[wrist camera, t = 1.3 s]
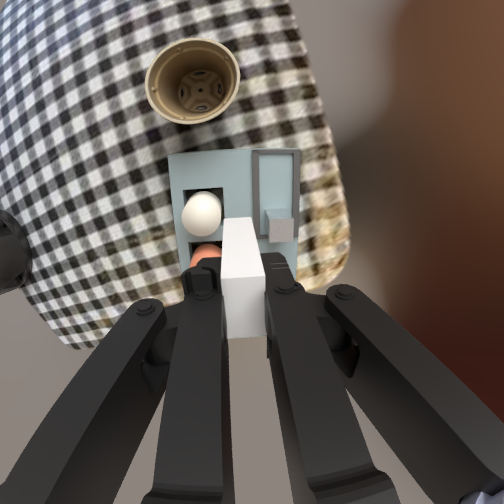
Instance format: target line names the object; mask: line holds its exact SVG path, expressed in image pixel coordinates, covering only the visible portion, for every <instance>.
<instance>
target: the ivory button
mask: <svg viewBox="0 0 504 504" xmlns="http://www.w3.org/2000/svg"><path fill="white" fill-rule="evenodd" d="M221 211H222V206H221V202H220V200H219V198H218V197H217V196H216V195H215V194H213V193H211V192H208V191H200V192H197V193H195V194H193V195H192V196H191V197H190V199H189V200H188V202H187V204H186V206H185V207H184V209H183V212H182V223H183V226H184V227H185V229H186V230H187V231H188V232H189V233H191V234H193V235H195V236H208V235H210V234H212V233H214V232H215V231H216V230H217V228H218V227H219V225H220V221H221Z"/></svg>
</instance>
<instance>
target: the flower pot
mask: <svg viewBox="0 0 504 504" xmlns="http://www.w3.org/2000/svg"><path fill="white" fill-rule="evenodd" d="M200 71H202V72H204V74H198V75H194V73H196V72H200ZM219 84H220V86H221V90H222V93H220V94H219V93H218V85H219ZM239 84H240V71H239V66H238V63H237V61H236V59H235V57H234V56H233V54H232V53H231V52H230V51H229V50H228V49H227V48H226V47H225V46H223V45H222V44H220V43H218V42H216V41H214V40H210V39H205V38H190V39H184V40H181V41H178V42H175V43H173V44H171V45H170V46H168V47H166V48H165V49H164V50H162V51H161V52H160V53H159V54H158V55H157V56H156V57H155V58H154V60H153V61H152V63H151V64H150V66H149V68H148V70H147V74H146V78H145V91H146V96H147V99H148V101H149V103H150V105H151V106H152V108H153V109H154V110H155V111H156V112H157V113H158V114H159V115H160V116H162V117H163V118H165V119H167V120H169V121H172V122H175V123H179V124H197V123H202V122H205V121H208V120H210V119H212V118H214V117H216V116H218V115H219V114H221V113H222V112H223V111H224V110H225V109H226V108H227V107H228V106H229V105H230V104H231V103H232V101H233V100H234V98H235V96H236V94H237V92H238V88H239ZM182 89H183V92H184V94H183V97H181V90H182ZM199 89H202V91H201V92H199ZM198 106H206V109H205V110H198V109H197V107H198Z"/></svg>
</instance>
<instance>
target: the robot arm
mask: <svg viewBox="0 0 504 504" xmlns="http://www.w3.org/2000/svg"><path fill="white" fill-rule="evenodd" d="M31 269H32V255H31V250H30V246H29V243H28V240H27V238H26V235H25V233H24V231H23V229H22V228H21V226H20V225H19V223H18V222H17V221H16V219H15V218H14V217H13V216H11V215H10V214H9V213H7V212H5V211H2V210H0V295H1V294H4V293H6V292H9V291H11V290H14V289H17V288H19V287H20V286H21V285H22V284H23V283H24V282H25V281H26V280H27V279H28V278H29V276H30V273H31ZM181 279H182V284H183V290H184V295H185V296H184V301H182V302H180V303H178V304H175V305H172V306H168V307H164V306H163V303H162V302H161V301H160V300H157V299H154V298H147V299H142V300H139V301H137V302H135V303H133V304H132V305H131V306H130V307H129V308H128V309H127V310H126V312H125V313H124V314H123V315H122V316H121V318H120V319H119V320H118V321H117V322H116V324H115V325H114V326H113V327H112V329H111V330H110V331H109V332H108V334H107V335H106V336H105V337H104V339H103V340H102V341H101V342H100V344H99V345H98V346H97V347H96V349H95V350H94V351H93V352H92V354H91V355H90V356H89V358H88V359H87V360H86V361H85V363H84V364H83V365H82V367H81V368H80V369H79V371H78V372H77V373H76V375H75V376H74V377H73V379H72V380H71V381H70V383H69V384H68V386H67V387H66V388H65V390H64V391H63V393H62V394H61V395H60V397H59V398H58V400H57V401H56V402H55V404H54V405H53V406H52V408H51V409H50V411H49V412H48V414H47V415H46V417H45V418H44V420H43V421H42V423H41V424H40V426H39V427H38V429H37V430H36V432H35V433H34V435H33V436H32V438H31V439H30V441H29V443H28V444H27V446H26V447H25V449H24V450H23V452H22V454H21V455H20V457H19V459H18V461H17V462H16V464H15V465H14V467H13V469H12V471H11V472H10V474H9V476H8V477H7V479H6V481H5V482H4V483H3V484H1V485H0V504H113V502H114V499H115V497H116V495H117V493H118V491H119V488H120V486H121V484H122V481H123V480H124V477H125V475H126V473H127V471H128V469H129V466H130V464H131V462H132V460H133V458H134V456H135V453H136V451H137V449H138V447H139V445H140V442H141V440H142V438H143V436H144V434H145V432H146V430H147V428H148V426H149V424H150V421H151V419H152V417H153V415H154V413H155V411H156V409H157V407H158V405H159V403H160V400H161V398H162V396H163V394H164V392H165V390H166V392H165V398H164V405H163V411H162V418H161V424H160V431H159V438H158V446H157V454H156V462H155V471H154V480H153V486H152V489H151V491H150V492H149V493H147V494H146V495H145V496H144V498H143V500H142V502H141V504H235V492H234V476H233V459H232V439H231V419H230V418H231V416H230V388H229V352H228V351H229V350H228V340H227V339H229V338H245V337H258V336H266V333H267V358H269V360H270V366H271V372H272V378H273V384H274V389H275V395H276V402H277V407H278V413H279V419H280V425H281V431H282V437H283V443H284V449H285V455H286V461H287V467H288V473H289V478H290V484H291V490H292V496H293V502H294V504H401V503H400V500H399V498H398V495H397V492H396V489H395V486H394V484H393V482H392V480H391V478H390V477H389V476H388V475H387V474H386V473H385V472H382V471H379V470H377V468H375V466H374V464H373V462H372V459H371V456H370V453H369V451H368V448H367V445H366V442H365V439H364V437H363V434H362V431H361V429H360V426H359V423H358V420H357V418H356V415H355V413H354V410H353V407H352V405H351V402H350V399H349V397H348V394H347V391H346V389H347V390H348V392H349V393H350V394H351V396H352V397H353V398H354V400H355V401H356V402H357V404H358V405H359V406H360V408H361V409H362V410H363V412H364V413H365V414H366V416H367V417H368V418H369V420H370V421H371V422H372V424H373V425H374V426H375V428H376V429H377V430H378V432H379V433H380V434H381V436H382V437H383V438H384V440H385V441H386V442H387V444H388V445H389V446H390V448H391V449H392V450H393V452H394V453H395V454H396V456H397V457H398V458H399V460H400V461H401V462H402V463H403V465H404V466H405V467H406V469H407V470H408V471H409V473H410V474H411V475H412V477H413V478H414V479H415V480H416V482H417V483H418V484H419V486H420V487H421V488H422V490H423V491H424V492H425V494H426V495H427V496H428V497H429V498H430V499H431V500H432V501H433V503H434V504H504V424H503V423H502V422H501V421H500V420H499V419H498V418H497V417H496V416H495V415H494V414H493V413H492V412H491V411H490V409H488V407H487V406H486V405H485V404H484V403H483V402H482V401H481V400H480V399H478V397H477V396H476V395H475V394H474V393H473V392H472V391H471V390H469V388H468V387H466V385H465V384H463V383H462V382H461V381H460V380H459V379H458V378H457V377H456V376H455V375H454V374H453V373H452V372H451V371H450V370H449V369H448V368H447V367H446V366H445V365H443V364H442V363H441V362H440V361H439V360H438V359H437V358H436V357H435V356H434V355H433V354H432V353H431V352H430V351H428V350H427V349H426V348H425V347H424V346H423V345H422V344H421V343H420V342H419V341H417V340H416V339H415V338H414V337H413V336H412V335H411V334H410V333H409V332H407V331H406V330H405V329H404V328H403V327H402V326H401V325H400V324H398V323H397V322H396V321H395V320H394V319H393V318H392V317H391V316H389V315H388V314H387V313H386V312H385V311H383V310H382V309H381V308H380V307H379V306H378V305H377V304H376V303H374V302H373V301H372V300H371V299H370V298H369V297H367V296H366V295H365V294H364V293H363V292H361V291H360V290H359V289H357V288H356V287H354V286H350V285H347V284H339V285H334V286H331V287H329V289H328V290H327V292H326V295H316V294H311V293H307V292H305V290H304V287H303V286H302V285H301V284H300V283H298V282H296V281H295V280H294V277H293V275H292V272H291V270H290V268H289V265H288V263H287V260H286V258H285V256H283V255H282V254H281V253H279V252H270V253H260V252H259V247H258V243H257V239H256V235H255V231H254V227H253V223H252V219H251V217H241V218H226V219H224V225H223V242H222V256H221V257H206V258H202V259H201V260H199V261H198V262H197V264H196V266H193V267H191V268H188V269H186V270H185V271H183V273H182V274H181ZM345 388H346V389H345Z"/></svg>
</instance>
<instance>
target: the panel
mask: <svg viewBox="0 0 504 504" xmlns="http://www.w3.org/2000/svg"><path fill="white" fill-rule="evenodd" d="M168 164H169V176H170V187H171V197H172V206H173V215H174V223H175V231H176V239H177V246H178V253H179V260H180V267H181V273H183V271H185V270H186V269H188V268H189V267H190V263H191V259H192V256H193V253H192V244H191V242H205V241H222V240H223V225H224V220H221V221H220V225H219V227H218V228H217V230H216V231H215V232H214V233H212V234H210V235H208V236H195V235H193V234H191V233H189V232H188V231H187V230H186V229H185V227H184V226H183V223H182V212H183V209H184V207H185V206H186V204H187V196H186V190H189V189H203V188H219V187H223V197H224V215H225V219H226V218H241V217H251V219H252V223H253V227H254V231H255V235H256V239H257V243H258V247H259V252H260V253H270V252H279V253H281V254H282V255H283V256H285V258H286V260H287V263H288V265H289V268H290V270H291V272H292V275H293V277H294V279H296V267H297V248H298V230H299V200H300V149H297V148H249V149H225V150H209V151H196V152H184V153H174V154H170V155H168ZM272 209H287V210H288V211H289V212H290V214H291V215H292V217H293V218H294V233H293V241H292V242H272V243H269V240H268V237H267V234H266V231H265V210H272Z"/></svg>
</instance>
